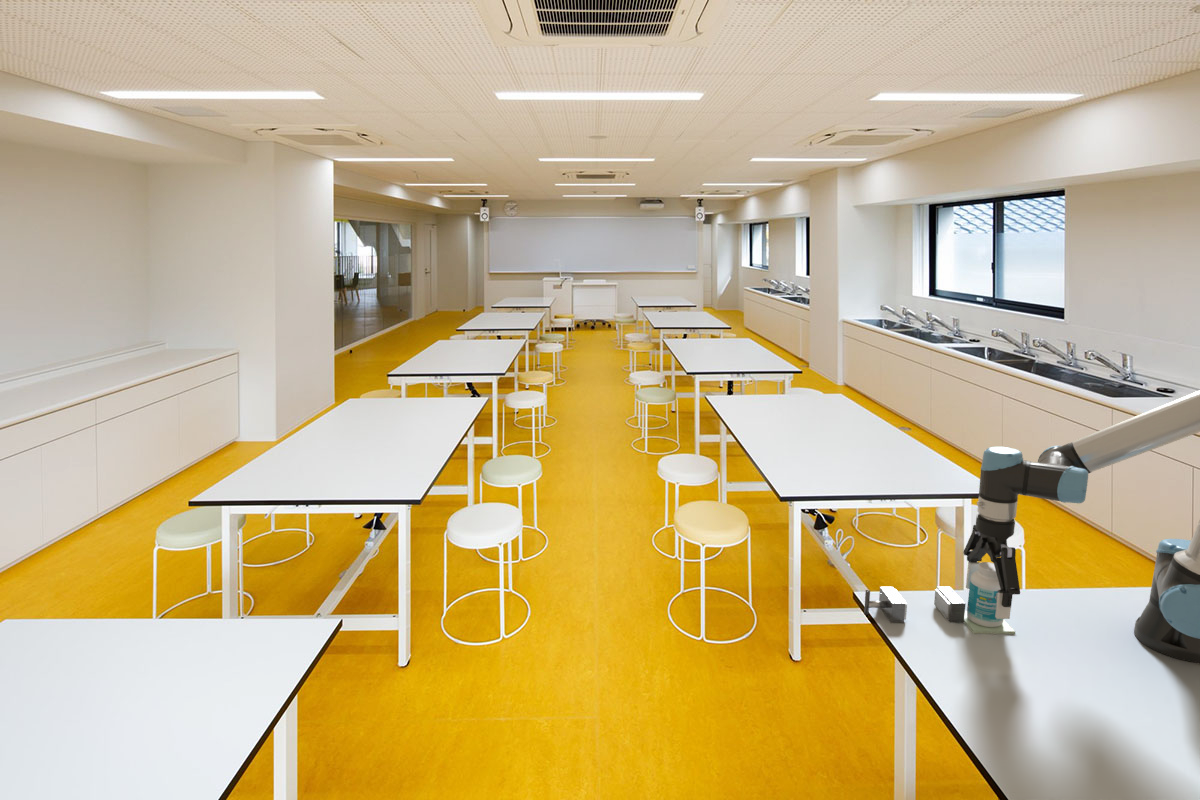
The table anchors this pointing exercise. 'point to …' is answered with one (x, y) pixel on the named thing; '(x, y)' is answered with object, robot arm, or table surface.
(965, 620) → the pad
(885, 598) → the vise
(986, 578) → the pill bottle
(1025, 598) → the table surface
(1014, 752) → the table surface
